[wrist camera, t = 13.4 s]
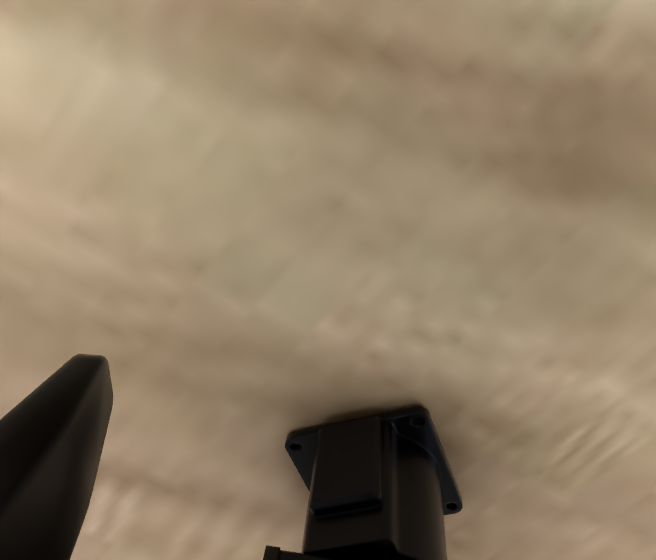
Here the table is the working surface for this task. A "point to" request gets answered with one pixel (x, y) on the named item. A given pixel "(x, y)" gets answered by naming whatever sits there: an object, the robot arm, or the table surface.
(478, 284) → the table surface
